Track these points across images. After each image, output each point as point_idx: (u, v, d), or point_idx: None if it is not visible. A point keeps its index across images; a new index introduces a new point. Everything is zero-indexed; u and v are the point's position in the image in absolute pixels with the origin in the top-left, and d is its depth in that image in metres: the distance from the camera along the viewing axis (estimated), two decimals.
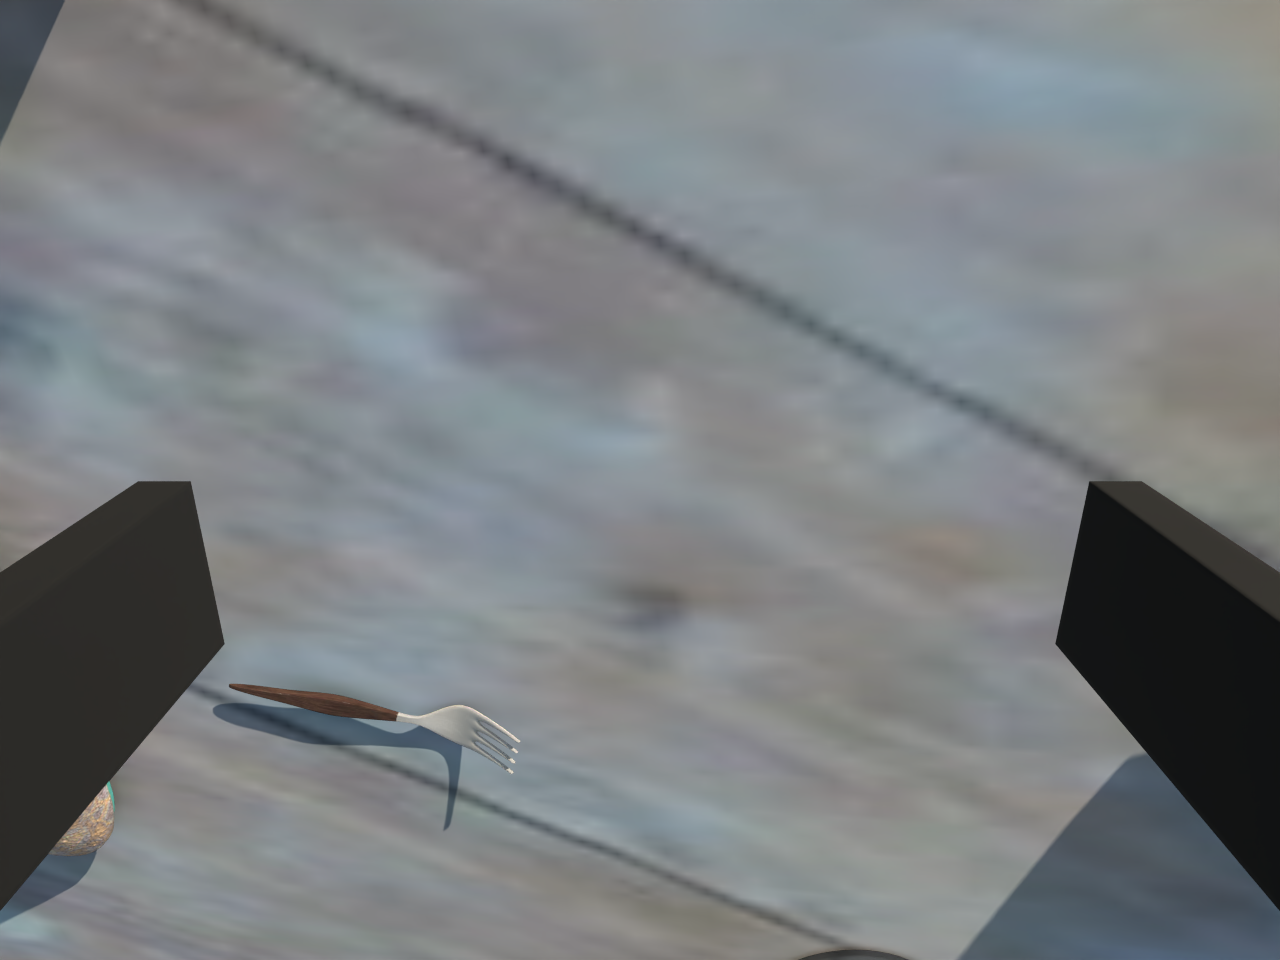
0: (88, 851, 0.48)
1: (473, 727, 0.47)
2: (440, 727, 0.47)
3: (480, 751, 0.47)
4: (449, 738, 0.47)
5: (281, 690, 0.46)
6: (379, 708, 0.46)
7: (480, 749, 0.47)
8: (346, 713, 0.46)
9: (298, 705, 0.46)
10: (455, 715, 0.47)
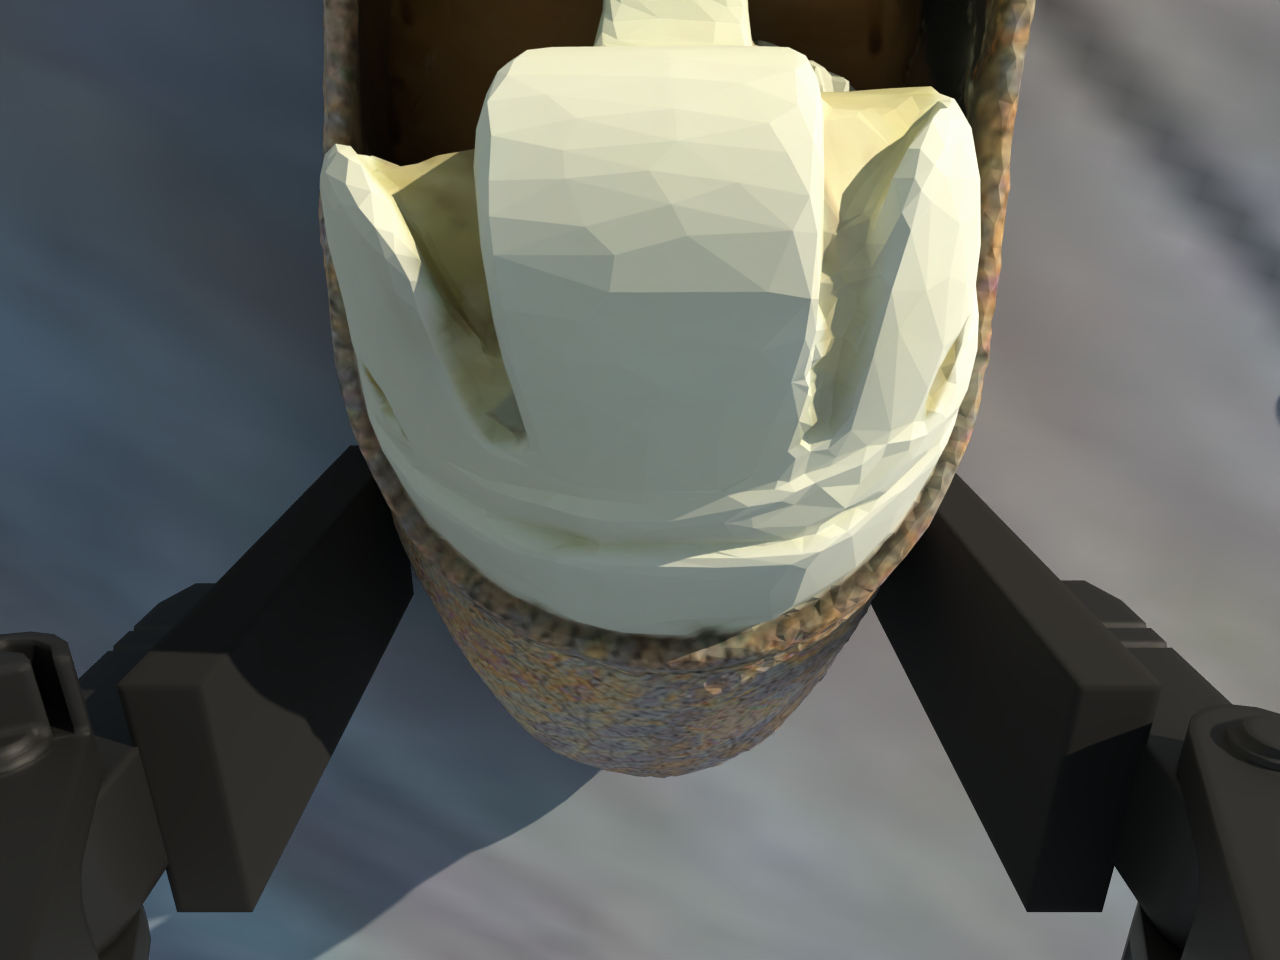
0: (688, 770, 0.14)
1: None
2: None
3: None
4: None
5: None
6: None
7: None
8: None
9: None
10: None
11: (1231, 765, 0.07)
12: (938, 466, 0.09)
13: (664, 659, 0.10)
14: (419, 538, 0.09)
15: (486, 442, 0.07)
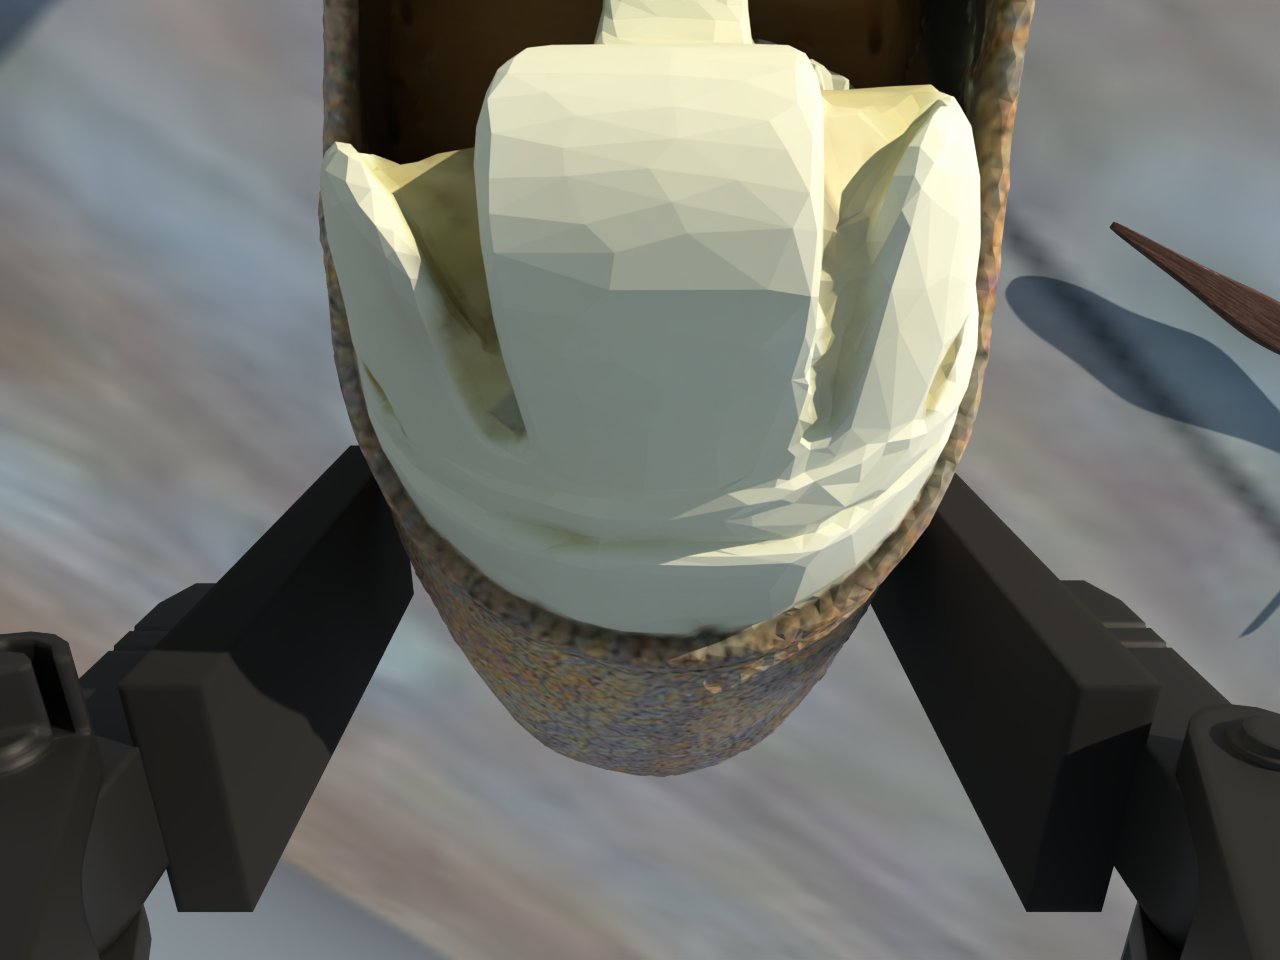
0: (688, 769, 0.14)
1: None
2: None
3: None
4: None
5: None
6: None
7: None
8: None
9: (1219, 304, 0.23)
10: None
11: (1230, 765, 0.07)
12: (938, 465, 0.09)
13: (664, 658, 0.10)
14: (419, 537, 0.09)
15: (486, 441, 0.07)
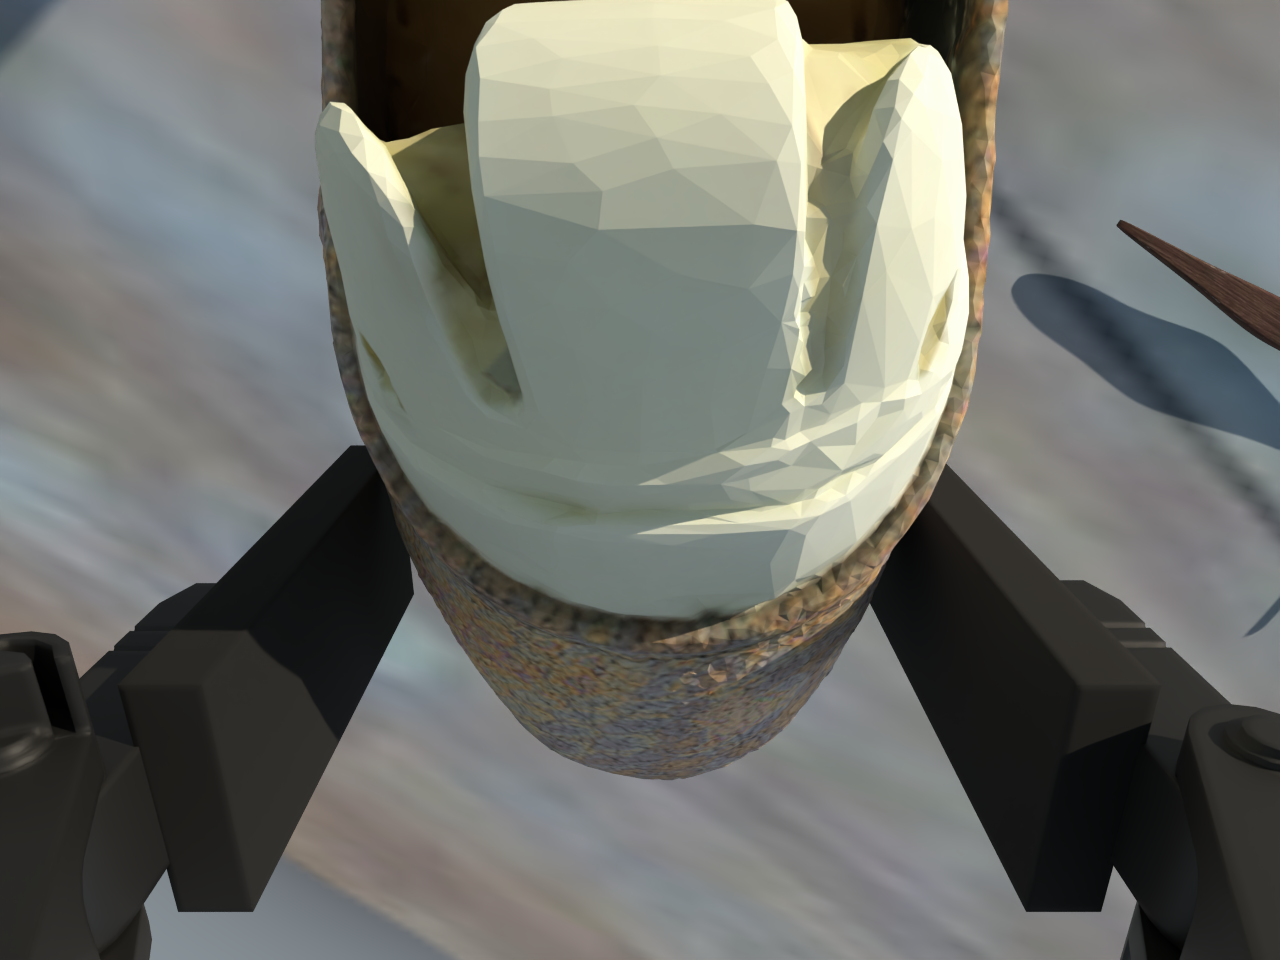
0: (696, 771, 0.14)
1: None
2: None
3: None
4: None
5: None
6: None
7: None
8: None
9: (1226, 303, 0.23)
10: None
11: (1229, 765, 0.07)
12: (935, 438, 0.09)
13: (667, 641, 0.10)
14: (419, 523, 0.09)
15: (483, 404, 0.07)
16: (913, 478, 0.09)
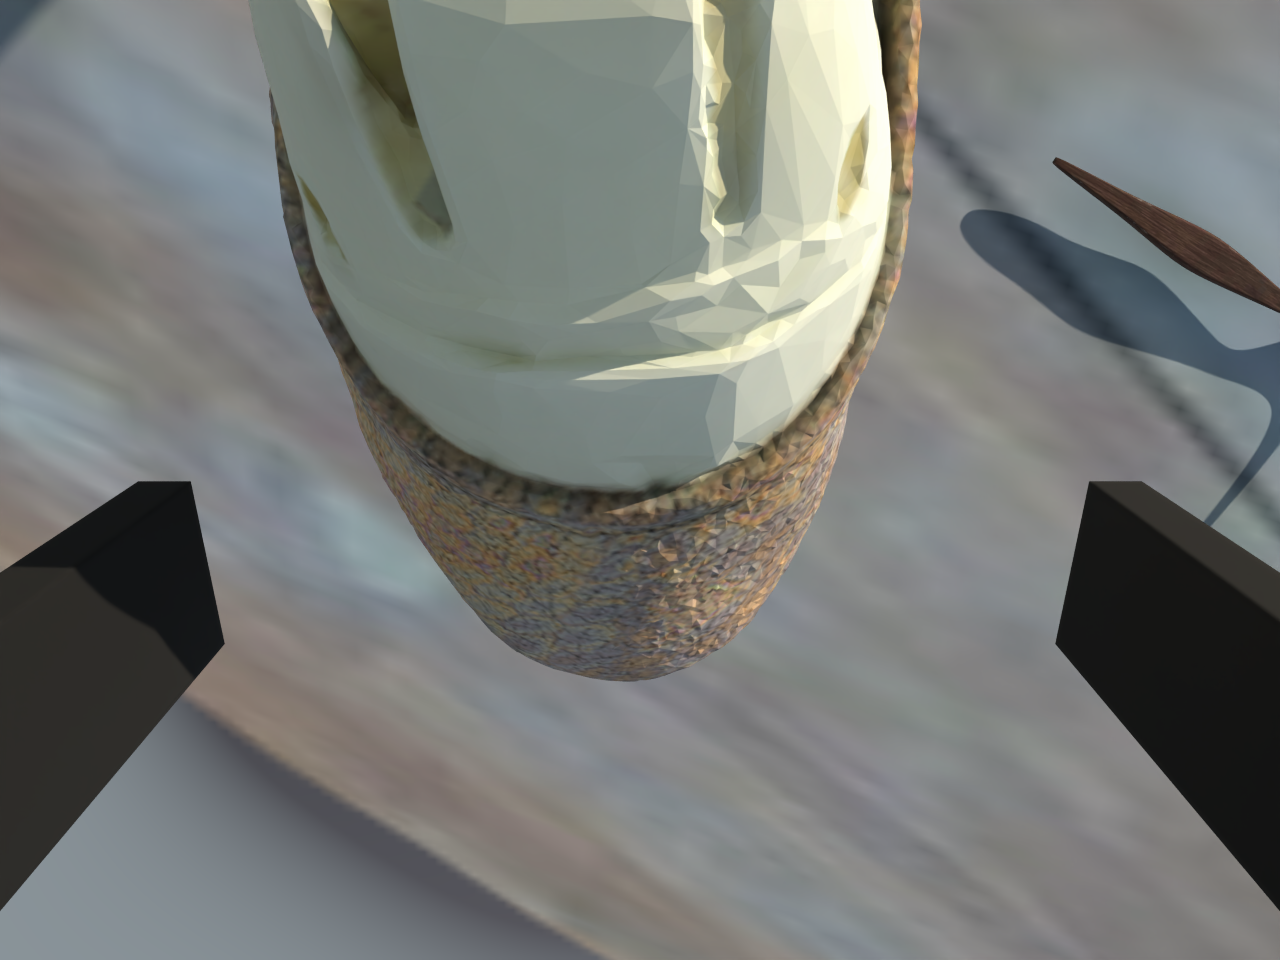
0: (658, 671, 0.14)
1: None
2: None
3: None
4: None
5: None
6: (1269, 280, 0.26)
7: None
8: (1219, 272, 0.26)
9: (1153, 233, 0.25)
10: None
11: None
12: (869, 306, 0.10)
13: (615, 512, 0.10)
14: (372, 395, 0.10)
15: (416, 238, 0.07)
16: (849, 346, 0.10)
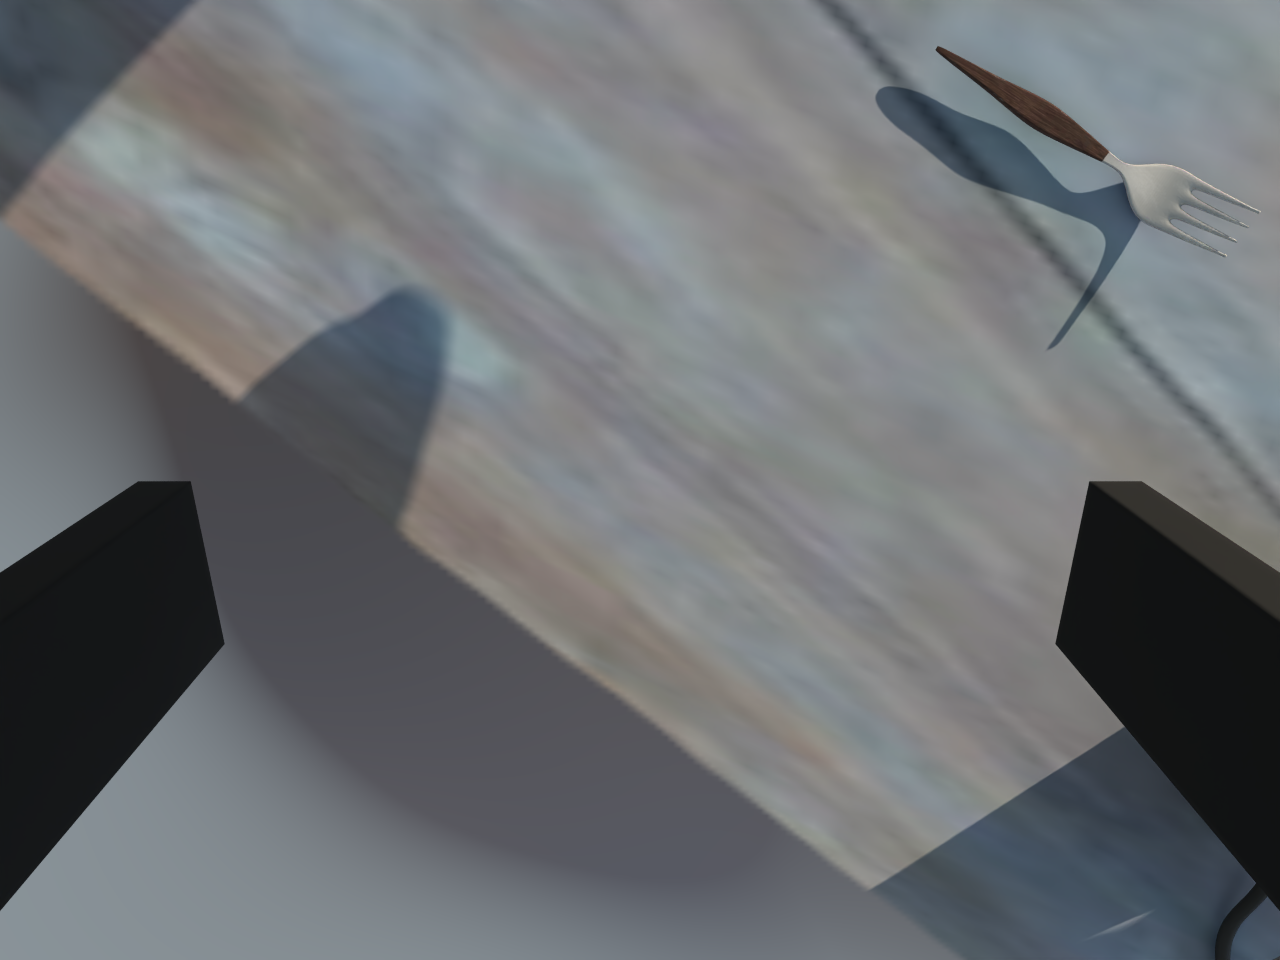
0: None
1: (1180, 198, 0.38)
2: (1139, 189, 0.38)
3: (1177, 231, 0.38)
4: (1138, 210, 0.39)
5: (993, 75, 0.36)
6: (1092, 137, 0.37)
7: (1177, 229, 0.38)
8: (1055, 129, 0.37)
9: (1007, 100, 0.36)
10: (1164, 177, 0.38)
11: None
12: None
13: None
14: None
15: None
16: None
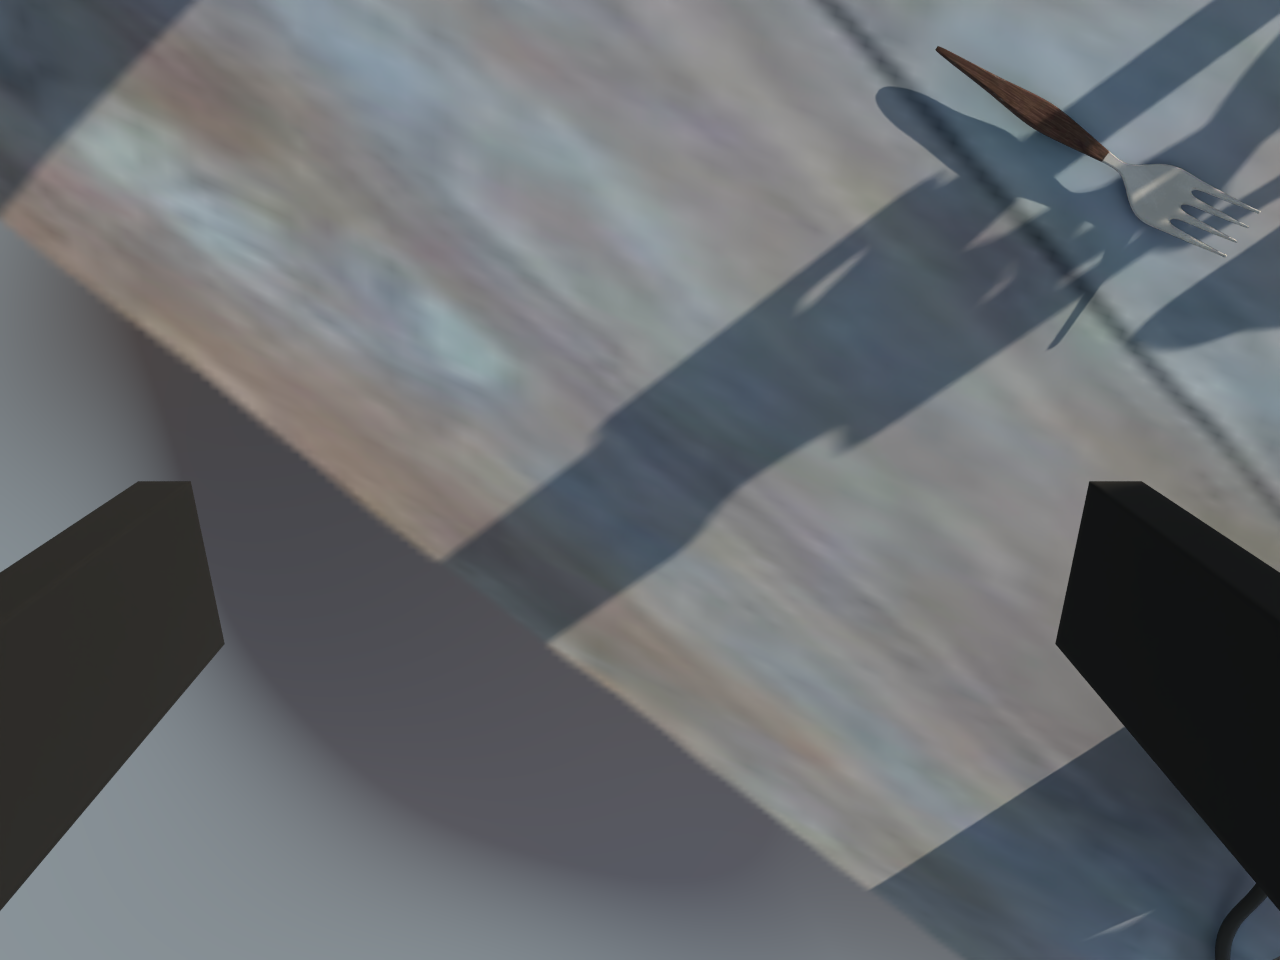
0: None
1: (1180, 198, 0.38)
2: (1139, 189, 0.38)
3: (1177, 231, 0.38)
4: (1138, 210, 0.39)
5: (993, 75, 0.36)
6: (1092, 137, 0.37)
7: (1177, 229, 0.38)
8: (1055, 129, 0.37)
9: (1007, 100, 0.36)
10: (1164, 177, 0.38)
11: None
12: None
13: None
14: None
15: None
16: None
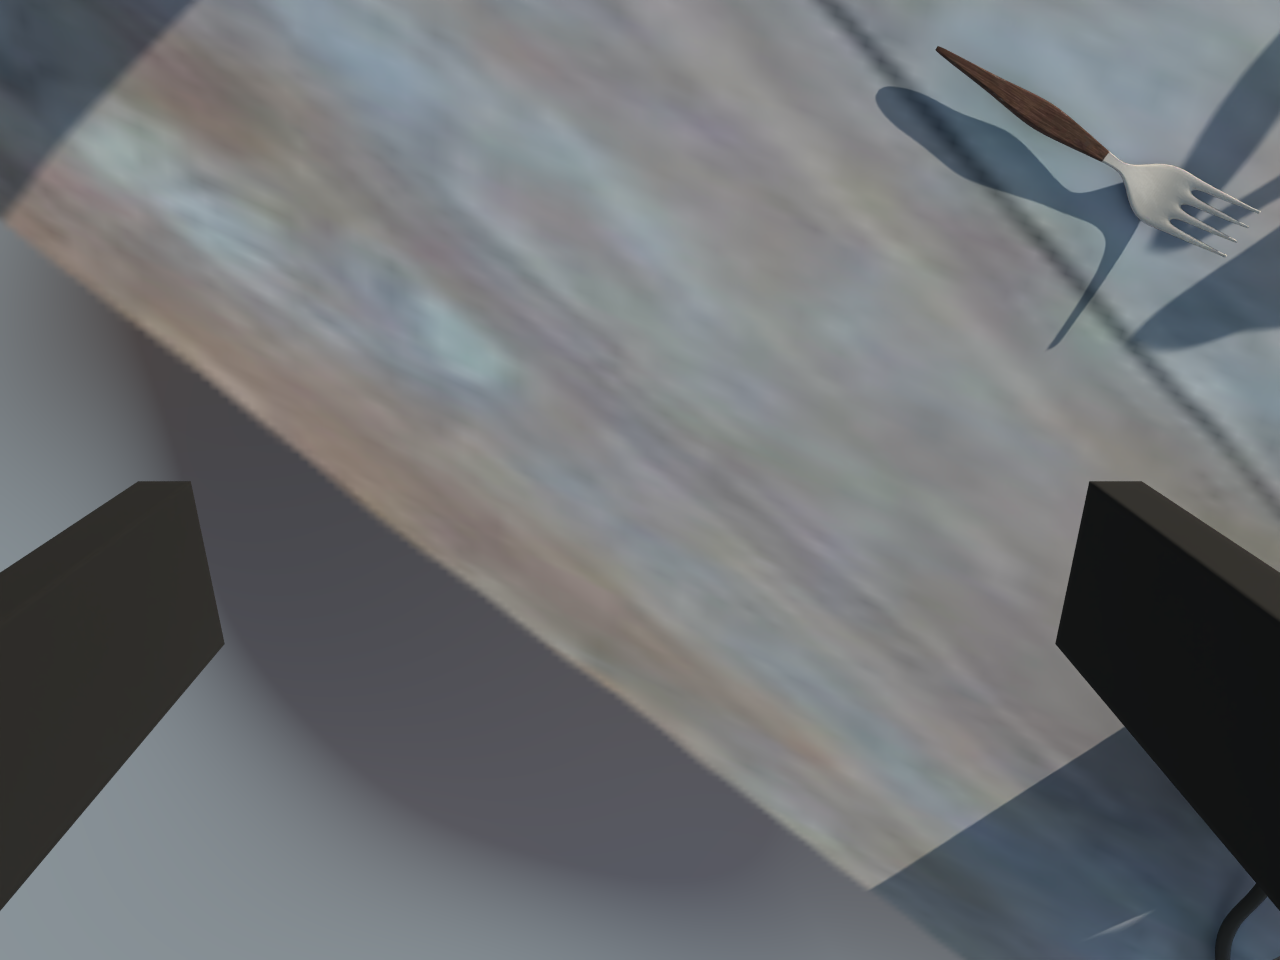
0: None
1: (1180, 198, 0.38)
2: (1139, 189, 0.38)
3: (1177, 231, 0.38)
4: (1138, 210, 0.39)
5: (993, 75, 0.36)
6: (1092, 137, 0.37)
7: (1177, 229, 0.38)
8: (1055, 129, 0.37)
9: (1007, 100, 0.36)
10: (1164, 177, 0.38)
11: None
12: None
13: None
14: None
15: None
16: None
